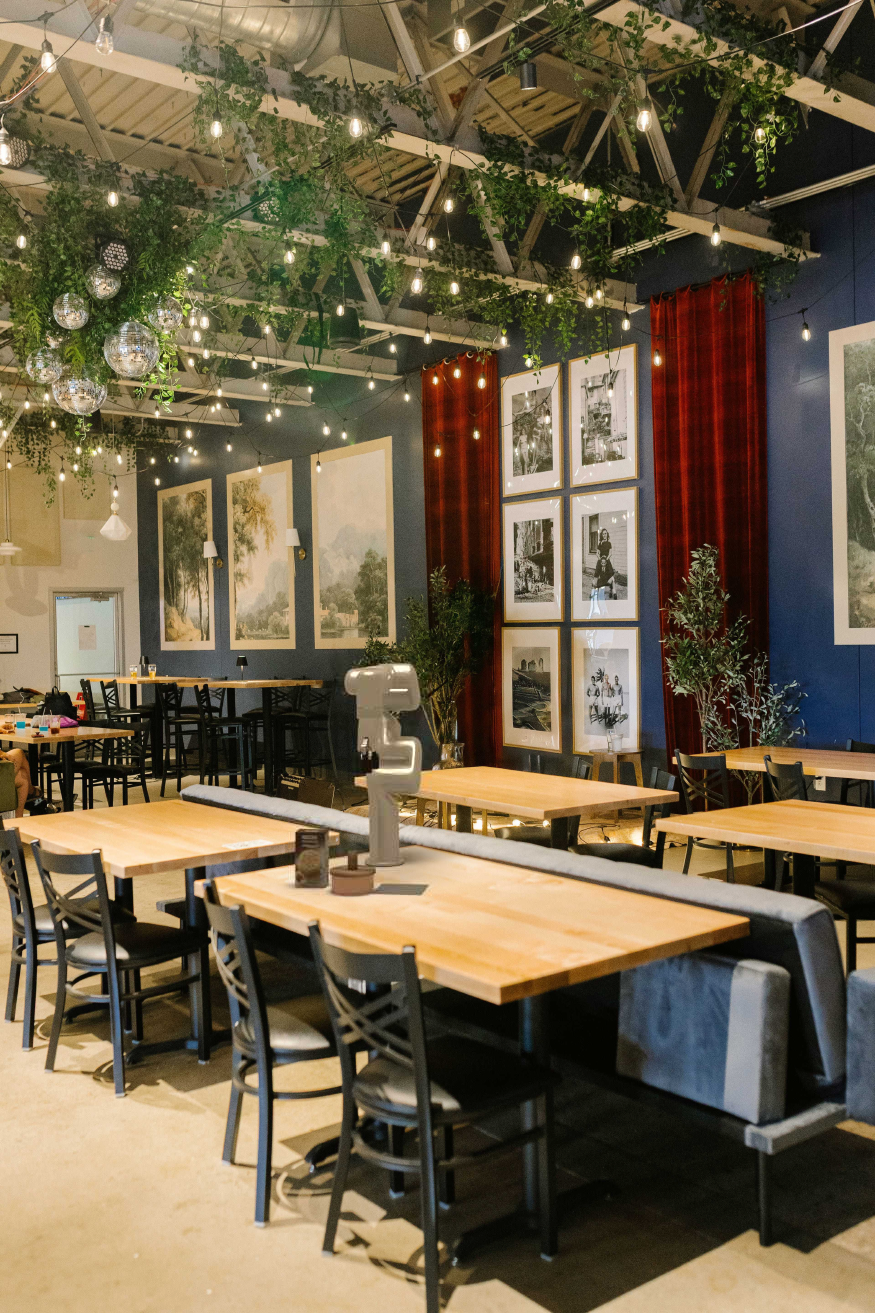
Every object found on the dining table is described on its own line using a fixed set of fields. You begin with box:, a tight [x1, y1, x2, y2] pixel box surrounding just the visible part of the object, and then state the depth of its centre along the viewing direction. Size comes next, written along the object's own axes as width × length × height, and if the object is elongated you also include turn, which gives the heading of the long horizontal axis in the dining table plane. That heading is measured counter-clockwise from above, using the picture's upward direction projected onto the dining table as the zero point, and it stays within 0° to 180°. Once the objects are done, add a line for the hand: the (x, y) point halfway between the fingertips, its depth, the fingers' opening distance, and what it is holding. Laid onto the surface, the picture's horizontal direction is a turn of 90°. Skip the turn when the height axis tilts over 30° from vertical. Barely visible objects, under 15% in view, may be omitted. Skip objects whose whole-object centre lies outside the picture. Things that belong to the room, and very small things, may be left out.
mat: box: [371, 883, 430, 896], centre depth 300 cm, size 14×14×1 cm
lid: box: [329, 850, 377, 877], centre depth 299 cm, size 13×13×6 cm
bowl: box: [331, 874, 375, 897], centre depth 298 cm, size 11×11×6 cm
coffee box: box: [294, 828, 330, 889], centre depth 309 cm, size 9×6×16 cm
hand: (370, 771), depth 314 cm, fingers open, 9 cm apart
